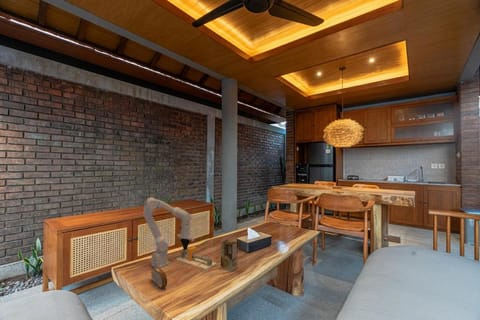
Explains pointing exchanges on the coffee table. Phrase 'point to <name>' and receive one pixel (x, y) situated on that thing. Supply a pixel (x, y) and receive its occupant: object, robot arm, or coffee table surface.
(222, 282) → the coffee table surface
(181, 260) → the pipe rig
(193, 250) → the orange block with hole
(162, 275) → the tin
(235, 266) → the coffee box
